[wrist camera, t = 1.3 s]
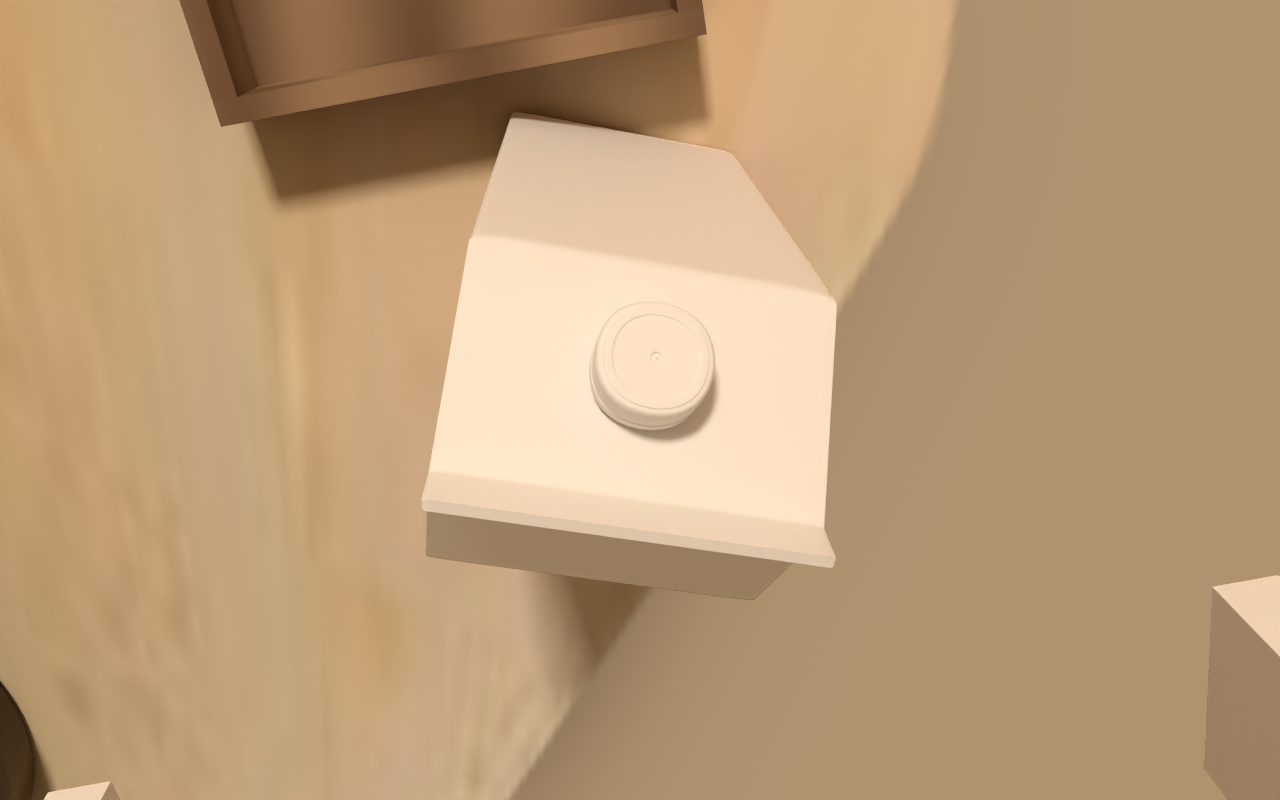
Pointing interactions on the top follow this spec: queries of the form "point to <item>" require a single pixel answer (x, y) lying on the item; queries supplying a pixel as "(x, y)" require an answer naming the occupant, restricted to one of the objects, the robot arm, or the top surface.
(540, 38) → the tray
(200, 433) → the top surface
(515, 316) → the milk carton
